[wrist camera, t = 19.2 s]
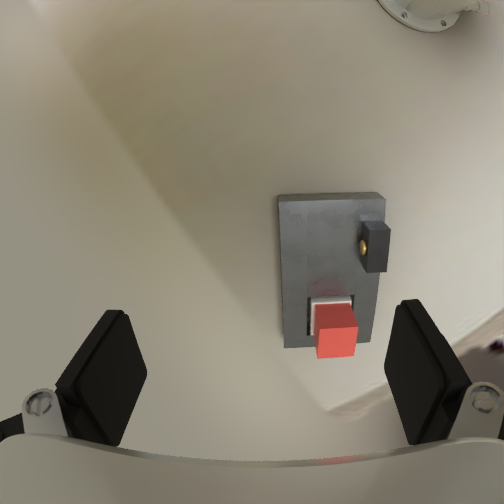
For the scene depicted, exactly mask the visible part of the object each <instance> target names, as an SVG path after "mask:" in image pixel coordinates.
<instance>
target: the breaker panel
mask: <svg viewBox="0 0 504 504" xmlns="http://www.w3.org/2000/svg"><path fill="white" fill-rule="evenodd" d="M385 202H386V199H385V198H384V197H382V196H381V195H380V194H379V193H329V194H299V195H278V203H279V223H280V246H281V271H282V300H283V335H284V348H298V347H316V346H315V340H314V335H311V334H310V327H309V322H307V297H323V296H339V295H350V298H351V300H352V302H351V307H352V310H353V313H354V315H355V318H356V321H357V324H358V333H357V340H356V343H366V342H370V339H371V333H372V327H373V321H374V314H375V307H376V300H377V292H378V285H379V276H380V272H387V263H388V254H389V244H390V232H391V229H390V228H389V227H388V226H387V225H386V224H385V223H384V220H385Z"/></svg>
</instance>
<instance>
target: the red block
mask: <svg viewBox="0 0 504 504" xmlns="http://www.w3.org/2000/svg"><path fill="white" fill-rule="evenodd" d="M357 333H358V324H357V321H356V318H355V315H354V313H353V310H352V307H351V305H350V303H334V304H315V311H314V330H313V334H314V340H315V346H316V353H317V358H334V357H348V356H354V352H355V346H356V340H357Z"/></svg>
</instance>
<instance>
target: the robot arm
mask: <svg viewBox="0 0 504 504" xmlns="http://www.w3.org/2000/svg"><path fill="white" fill-rule="evenodd" d="M378 1H379V3H380V4H381V5H382V7H383V8H384V9H385V10H386V11H387V12H388V13H389V14H390V15H392V16H393V17H394V18H395V19H397V20H398V21H400V22H401V23H403V24H405V25H406V26H409V27H411V28H413V29H416V30H419V31H423V32H439V31H442V30H445V29H447V28H449V27H451V26H452V25H453V24H454V23H455V22H456V21H457V19H458V17H459V14H460V11H462V10H465V11H469V10H473V11H475V12H477V13H480V14H483V15H488V14H489V12H490V8H489V5H488V4H487V3H485V2H483V1H480V0H378ZM401 15H402V16H403V17H404V18H403V17H402V16H401ZM384 370H385V374H386V377H387V380H388V383H389V385H390V388H391V391H392V394H393V397H394V400H395V403H396V406H397V409H398V412H399V415H400V418H401V421H402V424H403V428H404V431H405V434H406V437H407V440H408V443H409V445H413V446H410V447H404V448H399V449H393V450H387V451H381V452H374V453H367V454H360V455H353V456H344V457H336V458H335V457H334V458H324V459H310V460H293V461H231V460H229V461H228V460H211V459H199V458H188V457H177V456H169V455H161V454H154V453H147V452H141V451H135V450H129V449H124V448H119V447H117V446H118V445H119V444H120V442H121V439H122V437H123V434H124V431H125V429H126V426H127V424H128V421H129V419H130V416H131V414H132V411H133V409H134V406H135V404H136V401H137V399H138V396H139V394H140V392H141V389H142V387H143V384H144V382H145V380H146V377H147V369H146V366H145V363H144V360H143V358H142V355H141V352H140V349H139V346H138V344H137V340H136V337H135V334H134V331H133V328H132V325H131V322H130V319H129V316H128V315H127V314H124V312H123V311H122V310H107V311H106V312H105V313H104V314H103V316H102V317H101V319H100V320H99V321H98V323H97V324H96V325H95V327H94V328H93V330H92V331H91V333H90V334H89V335H88V337H87V338H86V339H85V341H84V342H83V344H82V345H81V347H80V348H79V350H78V351H77V353H76V354H75V356H74V357H73V359H72V360H71V361H70V363H69V364H68V366H67V367H66V369H65V370H64V372H63V373H62V375H61V377H60V378H59V379H58V381H57V383H56V384H55V385H56V387H57V389H56V390H55V392H54V391H53V390H51V389H48V388H47V389H46V388H42V389H37V390H35V391H33V392H31V393H30V394H29V395H28V396H27V397H26V398H25V399H24V401H23V403H22V413H20V414H18V415H16V416H13V417H11V418H8V419H6V420H3V421H1V422H0V504H504V394H503V392H502V391H501V389H499V388H498V387H497V386H496V385H494V384H491V383H488V382H477V383H474V384H472V382H471V381H470V379H469V377H468V376H467V374H466V372H465V370H464V368H463V367H462V365H461V364H460V362H459V360H458V358H457V357H456V355H455V353H454V352H453V350H452V348H451V347H450V345H449V344H448V342H447V340H446V339H445V337H444V336H443V335H442V334H441V333H440V331H439V330H438V328H437V326H436V325H435V323H434V322H433V320H432V319H431V317H430V316H429V314H428V313H427V311H426V310H425V308H424V307H423V305H422V304H421V302H420V301H419V300H418V299H412V300H403V301H402V302H401V304H400V305H397V307H396V310H395V315H394V321H393V326H392V331H391V336H390V340H389V345H388V349H387V354H386V358H385V363H384Z"/></svg>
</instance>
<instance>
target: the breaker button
mask: <svg viewBox="0 0 504 504" xmlns="http://www.w3.org/2000/svg"><path fill="white" fill-rule="evenodd" d="M351 302H352V300H351V298H350V295H339V296H323V297H309V327H310V334H311V335H314V334H313V330H314V311H315V304H334V303H350V305H351Z"/></svg>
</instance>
